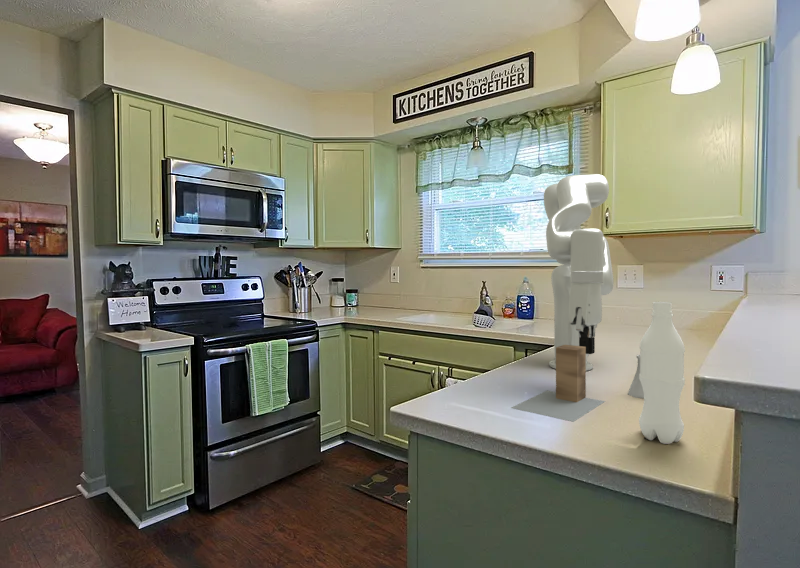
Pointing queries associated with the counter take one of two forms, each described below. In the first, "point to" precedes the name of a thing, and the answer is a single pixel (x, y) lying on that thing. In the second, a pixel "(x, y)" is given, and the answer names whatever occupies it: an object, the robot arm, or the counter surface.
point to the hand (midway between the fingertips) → (586, 353)
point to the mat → (558, 406)
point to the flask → (636, 384)
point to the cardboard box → (571, 373)
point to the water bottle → (662, 377)
